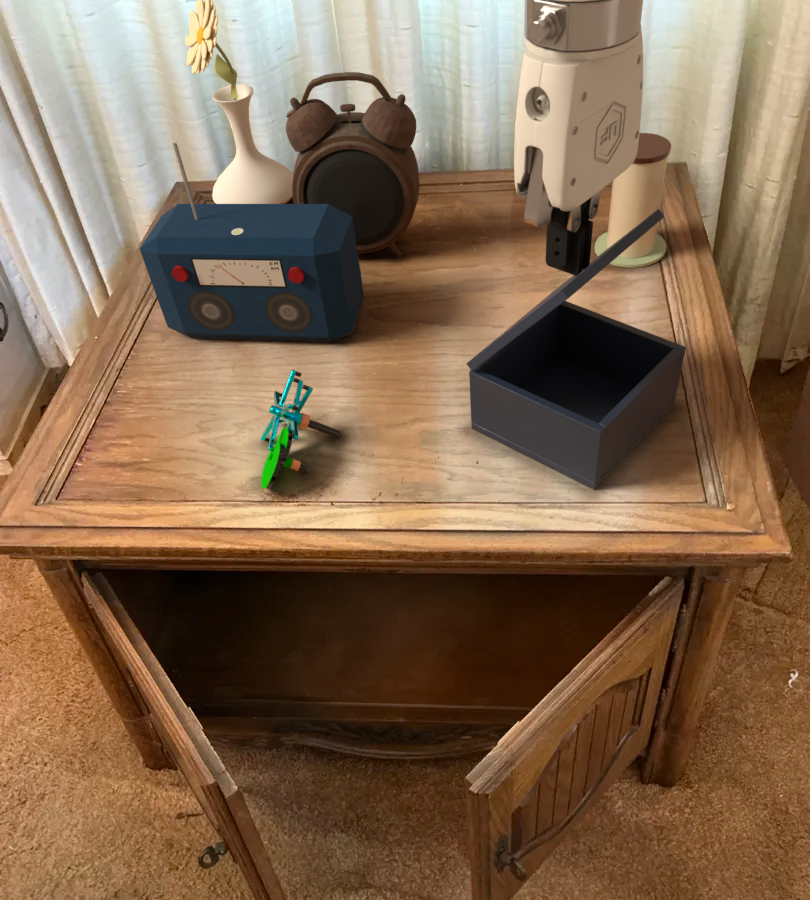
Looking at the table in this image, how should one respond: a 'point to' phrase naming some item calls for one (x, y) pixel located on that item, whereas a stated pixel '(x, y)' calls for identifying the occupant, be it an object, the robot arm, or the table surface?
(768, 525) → the table surface
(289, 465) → the stick construction toy
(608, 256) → the lid
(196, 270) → the radio
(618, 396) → the chest
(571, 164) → the robot arm
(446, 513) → the table surface
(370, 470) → the table surface
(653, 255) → the mat
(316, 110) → the alarm clock
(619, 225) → the jar
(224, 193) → the flower in vase
